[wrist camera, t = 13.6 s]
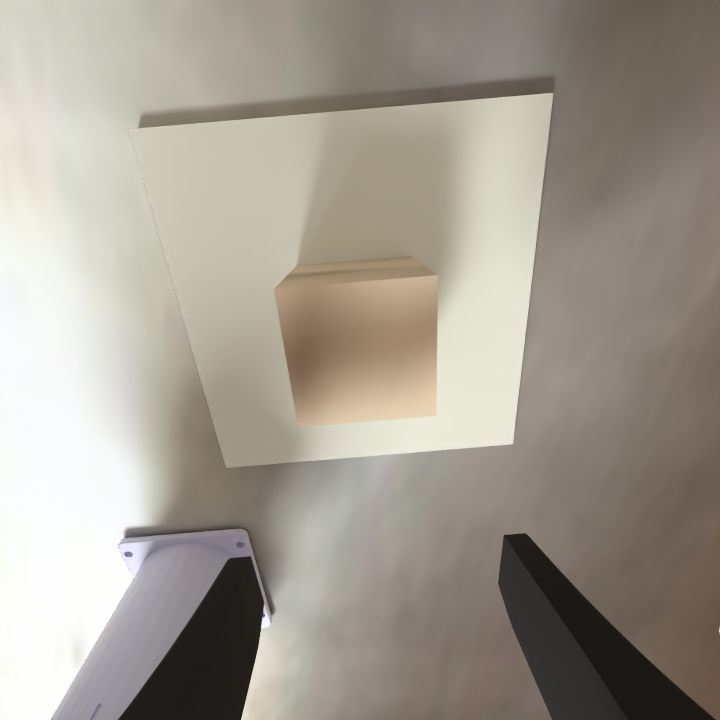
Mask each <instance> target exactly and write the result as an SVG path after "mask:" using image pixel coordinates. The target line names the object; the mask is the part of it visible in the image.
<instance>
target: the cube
mask: <svg viewBox="0 0 720 720" xmlns="http://www.w3.org/2000/svg"><path fill="white" fill-rule="evenodd" d="M274 293H275V299H276V305H277V310H278V316H279V322H280V328H281V333H282V339H283V345H284V350H285V356H286V362H287V367H288V373H289V379H290V384H291V390H292V396H293V402H294V407H295V413H296V419H297V424H298V427H309V426H321V425H333V424H345V423H357V422H369V421H381V420H393V419H405V418H416V417H428V416H436V410H437V320H438V275H437V274H436V273H434V272H433V271H431V270H430V269H428V268H427V267H426V266H424V265H423V264H421V263H420V262H418V261H417V260H415V259H414V258H412V257H411V256H407V257H395V258H383V259H371V260H360V261H348V262H336V263H324V264H312V265H300V266H296V267H295V268H294V269H293V270H292V271H291V272H290V273H289V274H288V275H287V276H286V277H285V278H284V279H283V280H282V281H281V282H280V283H279V284H278V285H277V286H276V287H275V288H274Z"/></svg>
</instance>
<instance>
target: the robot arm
mask: <svg viewBox="0 0 720 720" xmlns="http://www.w3.org/2000/svg"><path fill="white" fill-rule="evenodd" d="M118 549H119V551H120V553H121V555H122V557H123V559H124V561H125V563H126V565H127V567H128V569H129V571H130V573H131V575H132V577H133V580H132V582H131V584H130V585H129V587H128V589H127V591H126V592H125V594H124V596H123V597H122V599H121V601H120V603H119V604H118V606H117V608H116V609H115V611H114V613H113V614H112V616H111V618H110V620H109V621H108V623H107V625H106V626H105V628H104V630H103V631H102V633H101V635H100V637H99V638H98V640H97V642H96V643H95V645H94V647H93V649H92V650H91V652H90V654H89V655H88V657H87V659H86V660H85V662H84V664H83V666H82V667H81V669H80V671H79V672H78V674H77V676H76V677H75V679H74V681H73V683H72V684H71V686H70V688H69V689H68V691H67V693H66V694H65V696H64V698H63V700H62V701H61V703H60V705H59V706H58V708H57V710H56V712H55V713H54V715H53V717H52V718H51V720H241V717H242V713H243V709H244V705H245V701H246V696H247V692H248V688H249V684H250V680H251V675H252V671H253V667H254V663H255V658H256V654H257V650H258V645H259V638H260V631H261V628H267V627H269V626H270V625H271V622H272V617H271V613H270V610H269V606H268V602H267V599H266V595H265V592H264V588H263V585H262V581H261V578H260V574H259V571H258V567H257V564H256V560H255V557H254V553H253V550H252V546H251V543H250V539H249V536H248V533H247V532H246V531H245V530H243V529H228V530H216V531H204V532H193V533H181V534H169V535H157V536H145V537H133V538H125V539H123V540H121V542H120V543H119V545H118ZM498 584H499V588H500V591H501V594H502V597H503V600H504V603H505V607H506V610H507V613H508V616H509V619H510V622H511V624H512V627H513V630H514V632H515V634H516V637H517V639H518V641H519V644H520V646H521V648H522V651H523V653H524V655H525V658H526V660H527V662H528V665H529V667H530V669H531V672H532V674H533V676H534V679H535V681H536V683H537V685H538V688H539V690H540V692H541V695H542V697H543V699H544V702H545V704H546V706H547V709H548V711H549V713H550V716H551V718H552V720H716V719H714V718H713V717H712V716H711V715H710V714H708V713H707V712H706V711H705V710H704V709H703V708H701V707H700V706H699V705H698V704H697V703H696V702H695V701H693V700H692V699H691V698H690V697H689V696H688V695H687V694H685V693H684V692H683V691H682V690H681V689H680V688H679V687H677V686H676V685H675V684H674V683H673V682H672V681H671V680H670V679H669V678H668V677H666V676H665V675H664V674H663V673H662V672H661V671H660V670H659V669H658V668H657V667H656V666H654V665H653V664H652V663H651V662H650V661H649V660H648V659H647V658H646V657H645V656H644V655H643V654H642V653H641V652H640V651H638V650H637V649H636V648H635V647H634V646H633V645H632V644H631V643H630V642H629V641H628V640H627V639H626V638H625V637H624V636H623V635H622V634H621V633H620V632H619V631H618V630H617V629H616V628H615V627H614V626H613V625H612V624H611V623H610V622H609V621H608V620H607V619H606V618H605V617H604V616H603V615H602V614H601V613H600V612H599V611H598V610H597V609H596V608H595V607H594V606H593V605H592V604H591V603H590V602H589V601H588V600H587V599H586V598H585V597H584V596H583V595H582V594H581V593H580V592H579V591H578V590H577V589H576V588H575V586H574V585H573V584H572V583H571V582H570V581H569V580H568V579H567V578H566V577H565V576H564V575H563V574H562V572H561V571H560V570H559V569H558V568H557V567H556V566H555V565H554V564H553V563H552V562H551V560H550V559H549V558H548V557H547V556H546V555H545V554H544V553H543V552H542V550H541V549H540V548H539V547H538V546H537V545H536V544H535V543H534V542H533V540H532V539H531V538H530V537H529V536H528V535H527V534H526V533H524V534H512V535H504V538H503V547H502V555H501V563H500V572H499V580H498Z"/></svg>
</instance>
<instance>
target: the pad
mask: <svg viewBox="0 0 720 720" xmlns="http://www.w3.org/2000/svg"><path fill="white" fill-rule="evenodd" d="M552 102H553V93H545V94H533V95H522V96H510V97H498V98H487V99H475V100H463V101H452V102H440V103H428V104H417V105H405V106H393V107H381V108H370V109H358V110H346V111H335V112H323V113H311V114H300V115H288V116H276V117H265V118H253V119H241V120H229V121H218V122H206V123H194V124H183V125H171V126H159V127H148V128H136V129H128V132H129V135H130V139H131V142H132V146H133V149H134V153H135V156H136V159H137V163H138V166H139V170H140V173H141V177H142V180H143V184H144V187H145V190H146V194H147V197H148V201H149V204H150V208H151V211H152V215H153V218H154V222H155V225H156V228H157V232H158V235H159V239H160V242H161V246H162V249H163V253H164V256H165V260H166V263H167V266H168V270H169V273H170V277H171V280H172V284H173V287H174V291H175V294H176V297H177V301H178V304H179V308H180V311H181V315H182V318H183V322H184V325H185V329H186V332H187V335H188V339H189V342H190V346H191V349H192V353H193V356H194V360H195V363H196V366H197V370H198V373H199V377H200V380H201V384H202V387H203V391H204V394H205V398H206V401H207V404H208V408H209V411H210V415H211V418H212V422H213V425H214V429H215V432H216V435H217V439H218V442H219V446H220V449H221V453H222V456H223V460H224V463H225V467H226V468H233V467H245V466H257V465H269V464H281V463H293V462H305V461H317V460H329V459H341V458H352V457H364V456H376V455H388V454H400V453H412V452H424V451H436V450H448V449H460V448H472V447H484V446H496V445H507V444H513V437H514V429H515V420H516V412H517V403H518V394H519V386H520V377H521V369H522V360H523V351H524V343H525V334H526V325H527V317H528V308H529V300H530V291H531V282H532V274H533V265H534V257H535V248H536V239H537V231H538V222H539V214H540V205H541V196H542V188H543V179H544V171H545V162H546V153H547V145H548V136H549V128H550V119H551V110H552ZM407 256H411V257H412V258H414V259H415V260H417V261H418V262H420V263H421V264H423V265H424V266H426V267H427V268H428V269H430V270H431V271H433V272H434V273H436V274H437V275H438V320H437V410H436V416H428V417H416V418H405V419H393V420H381V421H369V422H357V423H345V424H333V425H321V426H309V427H298V424H297V419H296V413H295V407H294V402H293V396H292V390H291V384H290V379H289V373H288V367H287V362H286V356H285V350H284V345H283V339H282V333H281V328H280V322H279V316H278V310H277V305H276V299H275V293H274V288H275V287H276V286H277V285H278V284H279V283H280V282H281V281H282V280H283V279H284V278H285V277H286V276H287V275H288V274H289V273H290V272H291V271H292V270H293V269H294V268H295V267H296V266H300V265H312V264H324V263H336V262H348V261H360V260H371V259H383V258H395V257H407Z"/></svg>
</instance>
